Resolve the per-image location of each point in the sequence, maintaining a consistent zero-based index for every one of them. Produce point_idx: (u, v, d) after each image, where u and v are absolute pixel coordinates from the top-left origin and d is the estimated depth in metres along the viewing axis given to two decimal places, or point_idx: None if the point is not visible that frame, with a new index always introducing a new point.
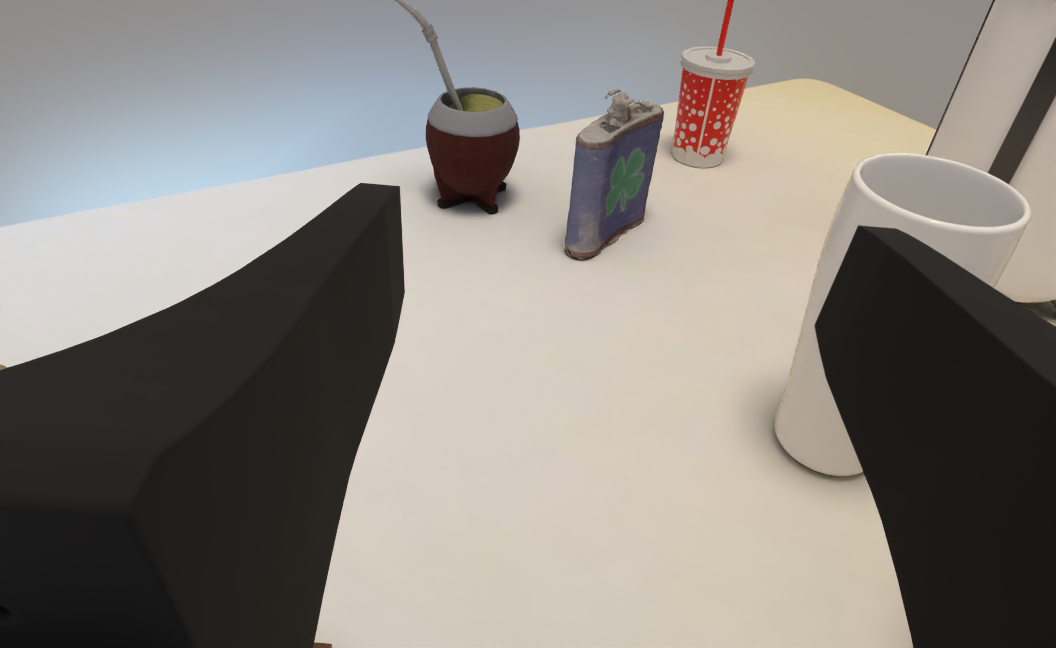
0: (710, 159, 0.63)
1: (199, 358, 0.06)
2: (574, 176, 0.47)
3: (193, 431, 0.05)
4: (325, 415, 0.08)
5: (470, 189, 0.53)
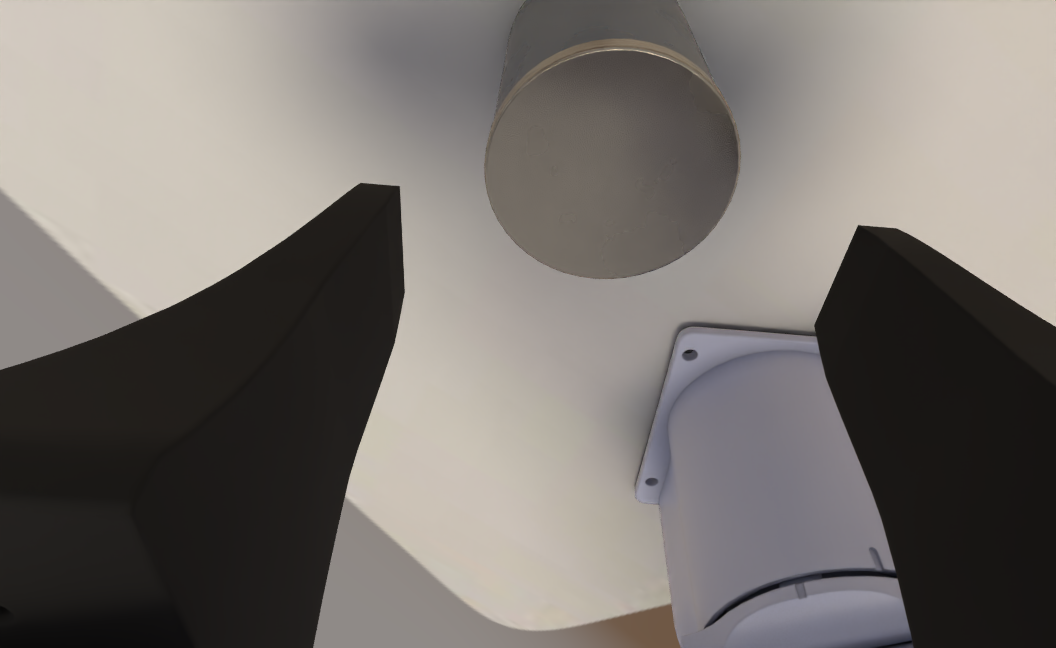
0: None
1: (199, 357, 0.06)
2: None
3: (194, 431, 0.05)
4: (325, 415, 0.08)
5: None
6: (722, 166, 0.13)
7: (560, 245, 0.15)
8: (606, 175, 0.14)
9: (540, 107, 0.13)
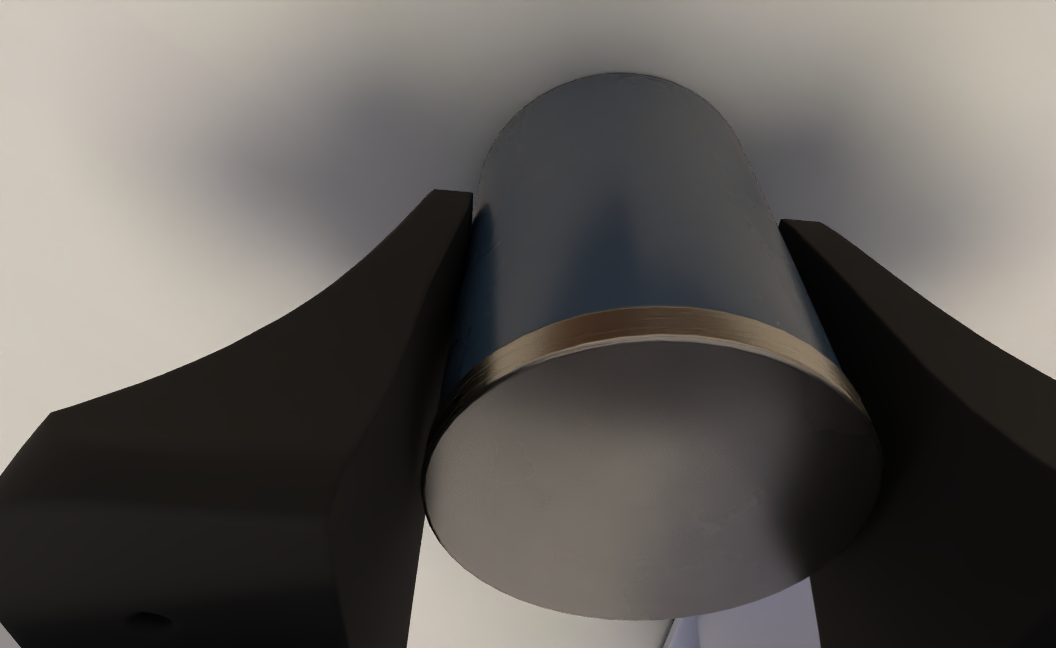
0: None
1: (331, 367, 0.06)
2: None
3: (357, 444, 0.05)
4: (421, 423, 0.08)
5: None
6: (846, 499, 0.07)
7: (556, 584, 0.09)
8: (637, 507, 0.08)
9: (517, 419, 0.07)
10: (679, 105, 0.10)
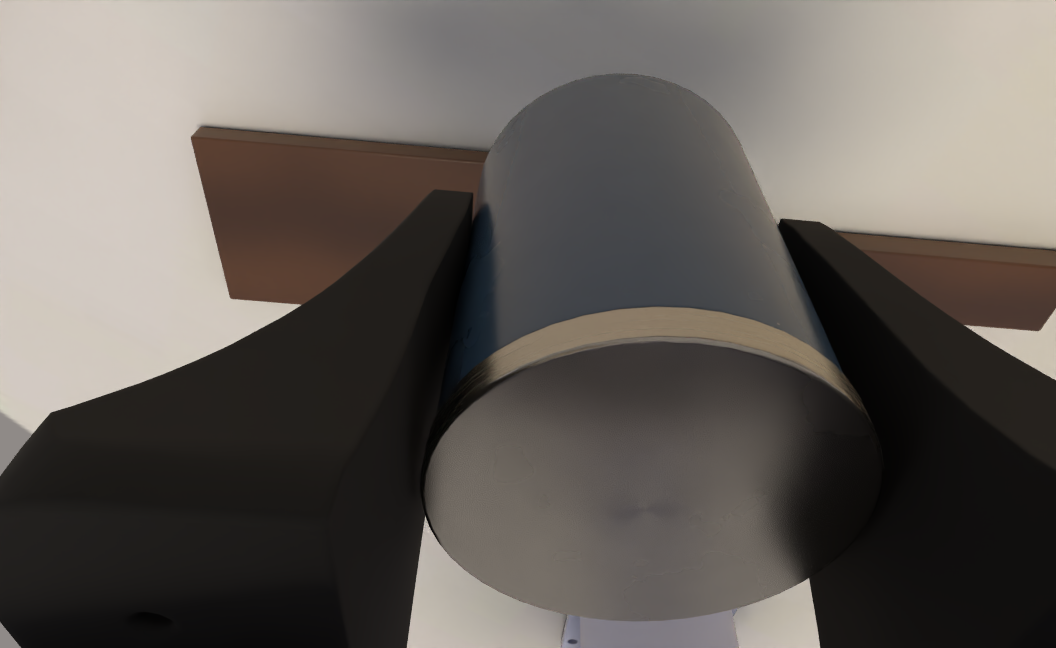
0: None
1: (330, 367, 0.06)
2: None
3: (357, 444, 0.05)
4: (421, 423, 0.08)
5: None
6: (847, 500, 0.07)
7: (556, 585, 0.09)
8: (637, 508, 0.08)
9: (517, 420, 0.07)
10: (679, 106, 0.10)
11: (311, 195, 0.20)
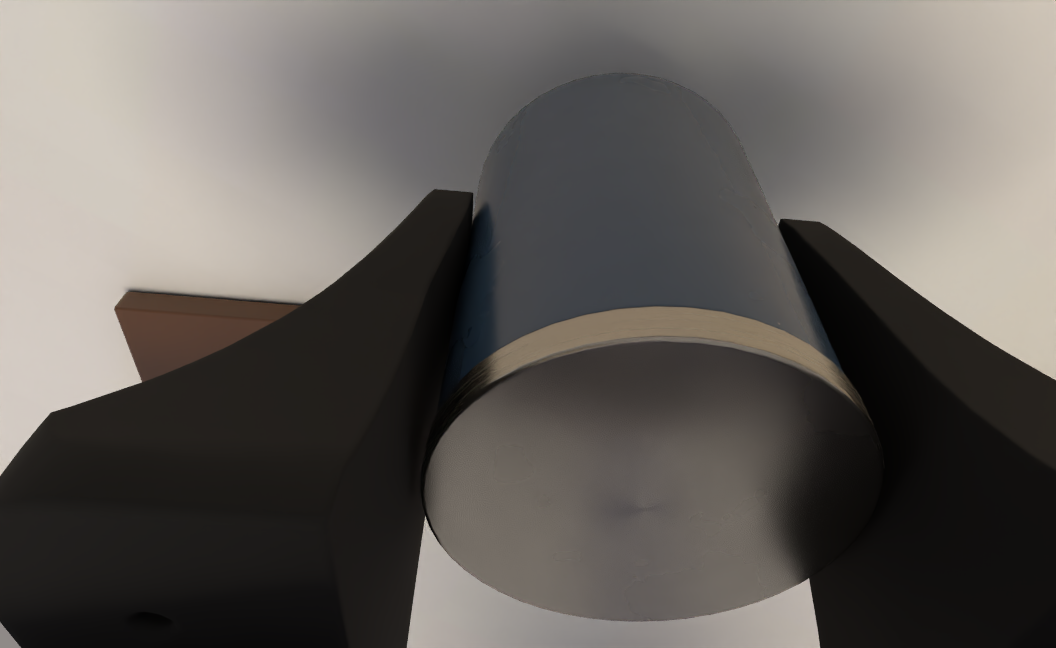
0: None
1: (330, 368, 0.06)
2: None
3: (357, 444, 0.05)
4: (421, 423, 0.08)
5: None
6: (847, 500, 0.07)
7: (556, 585, 0.09)
8: (637, 508, 0.08)
9: (517, 420, 0.07)
10: (679, 106, 0.10)
11: None
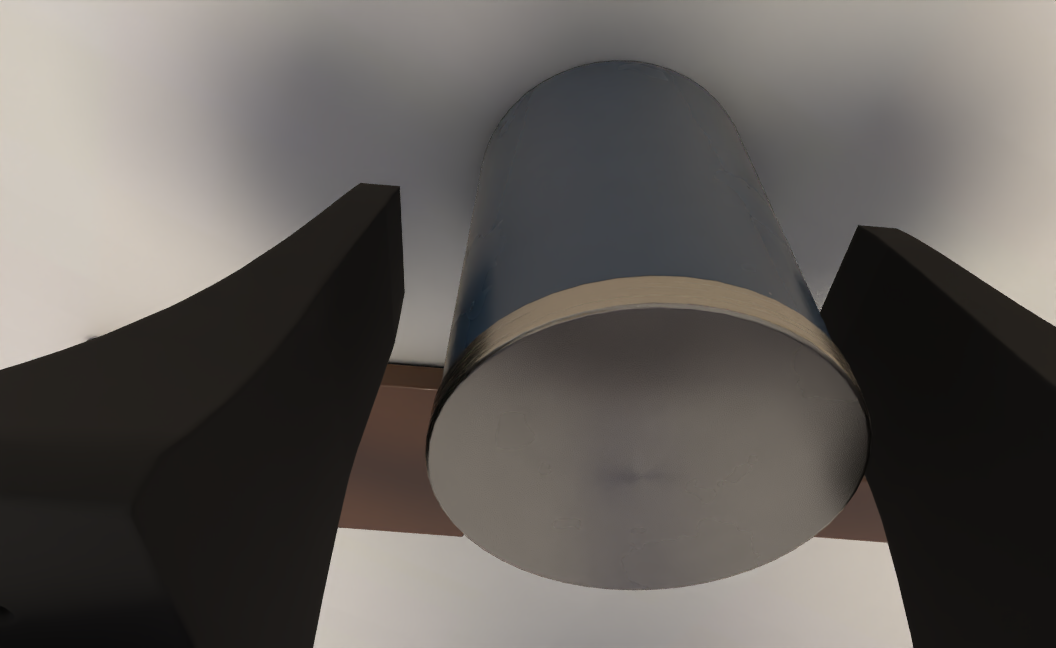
0: None
1: (199, 357, 0.06)
2: None
3: (193, 431, 0.05)
4: (325, 415, 0.08)
5: None
6: (836, 466, 0.08)
7: (556, 554, 0.09)
8: (634, 474, 0.08)
9: (518, 386, 0.07)
10: (675, 92, 0.11)
11: None
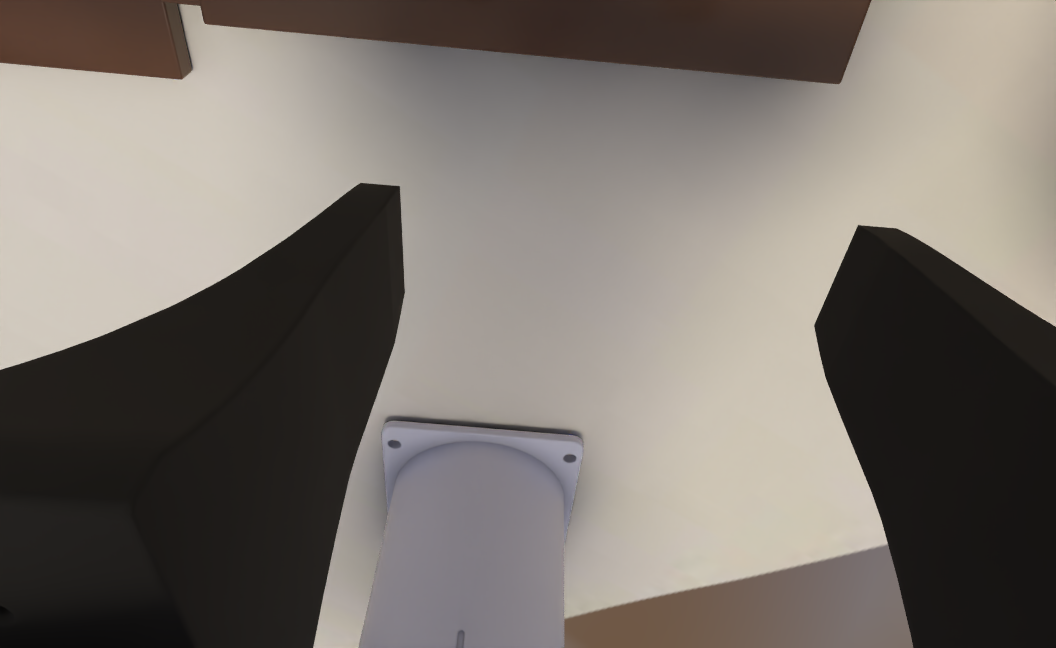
0: None
1: (199, 358, 0.06)
2: None
3: (193, 431, 0.05)
4: (325, 415, 0.08)
5: None
6: None
7: None
8: None
9: None
10: None
11: None
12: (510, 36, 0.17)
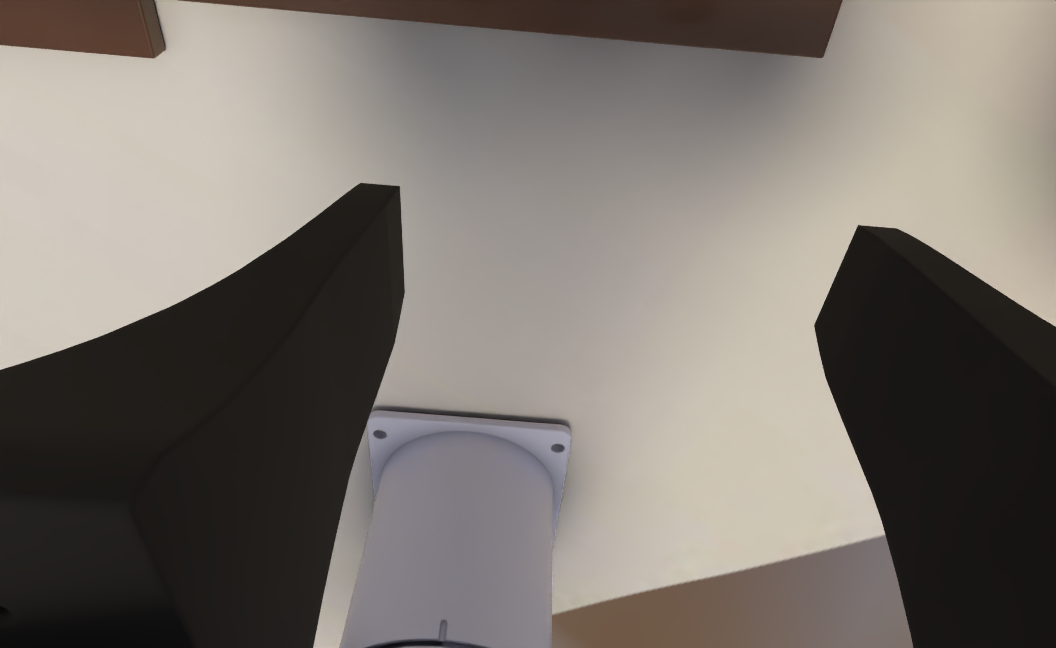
0: None
1: (199, 357, 0.06)
2: None
3: (193, 431, 0.05)
4: (325, 415, 0.08)
5: None
6: None
7: None
8: None
9: None
10: None
11: None
12: (485, 10, 0.17)
